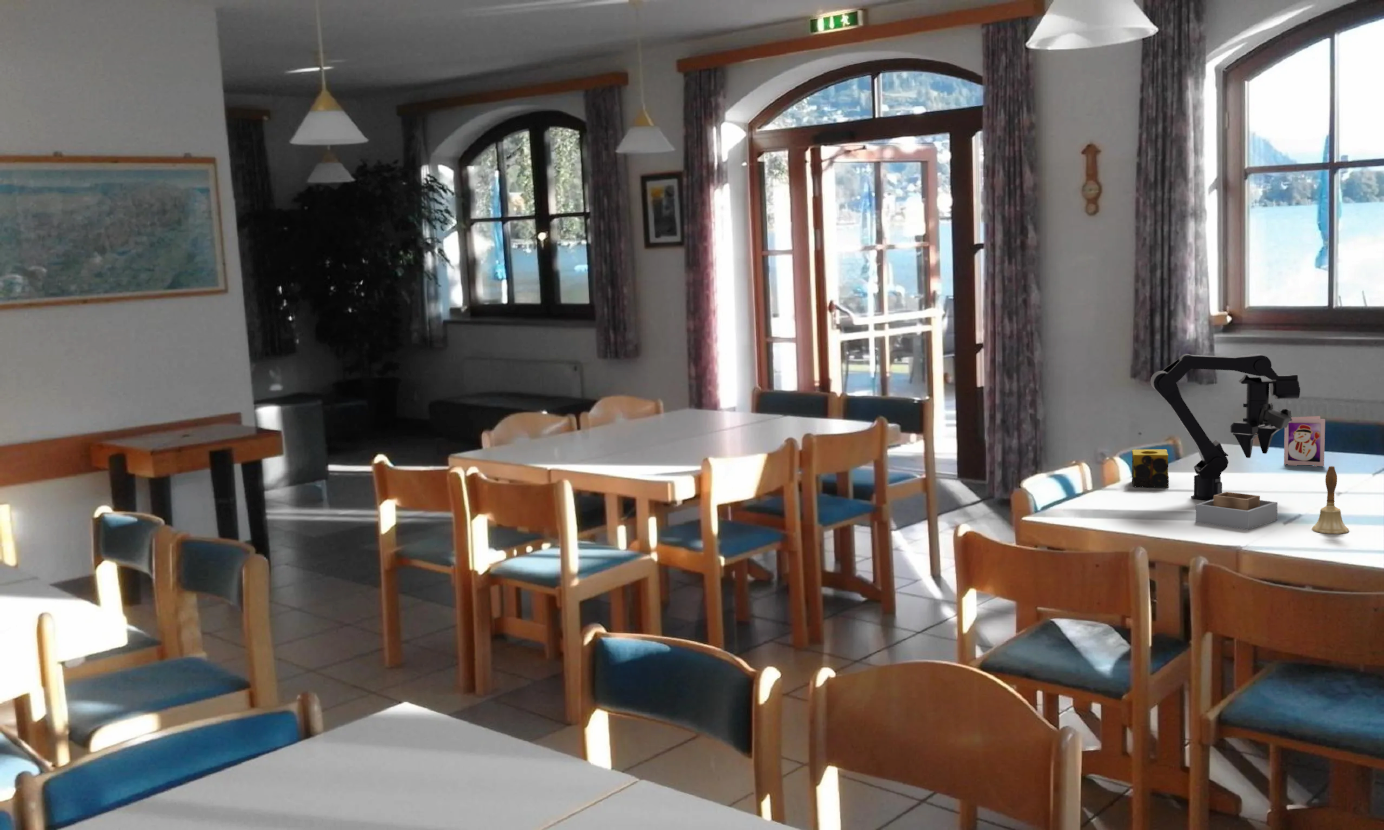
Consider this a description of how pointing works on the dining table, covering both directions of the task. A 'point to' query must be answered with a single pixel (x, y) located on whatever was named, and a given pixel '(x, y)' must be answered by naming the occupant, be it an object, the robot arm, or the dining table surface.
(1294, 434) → the greeting card
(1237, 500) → the walnut crate
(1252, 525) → the grey crate
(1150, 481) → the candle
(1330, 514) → the hand bell
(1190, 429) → the robot arm
